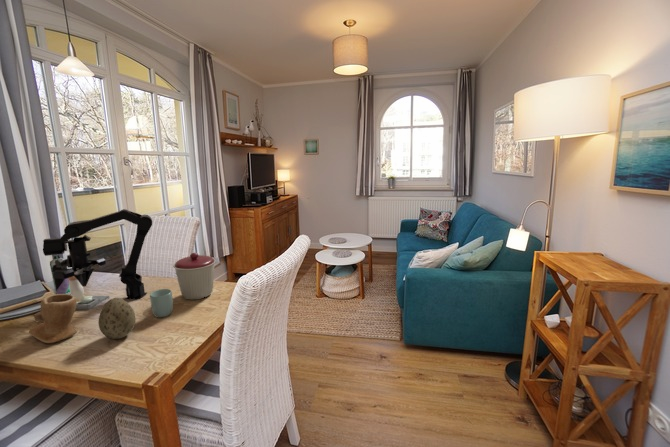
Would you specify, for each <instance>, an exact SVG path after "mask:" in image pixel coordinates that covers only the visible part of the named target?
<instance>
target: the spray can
mask: <svg viewBox="0 0 670 447" xmlns="http://www.w3.org/2000/svg"><path fill="white" fill-rule="evenodd" d="M58 259H63V260H66V259H65V258H62V257H61V256H60V254H57V255H53V258H52V260H50V261H49V266H50V267H49V268H50V271H51V276H52V283H53V286H54V288H53V289H54V292H55V293H54V294H66V293H68V292H70V286H69V280H68V278H67V279H59V278H53V273H54V271H57V270H60V269H62V268H61V267H56V265H55V260H58ZM65 269H68V266H67V267H65Z"/></svg>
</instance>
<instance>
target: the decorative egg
mask: <svg viewBox="0 0 670 447" xmlns="http://www.w3.org/2000/svg"><path fill="white" fill-rule="evenodd" d="M136 319H137V318H136V313H135V310H134V309H133V307H132V306H131V304H130V303H129V302H127V300H126V299H125V300H124V299H123V298H120V297H113V298H110V299H109V300H108V301H107V302H106V303H105V304H104V306H103V307H102V308H101V310H100V312H99V316H98V328H99V331H100V332H101V334H102V335H104V337H106V338H108V339H111V340H112V339H113V340H119V339H122V338H124V337H126V336H127V335H129V334H130V333H131V332H132V330H133V329H134V327H135V325H136Z"/></svg>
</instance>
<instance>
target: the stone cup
mask: <svg viewBox="0 0 670 447" xmlns="http://www.w3.org/2000/svg"><path fill="white" fill-rule="evenodd" d="M76 303H77V302H76V298H75V296H73V295H70V294H56V293H54V294H51V295H48V296H46V297H44V298H43V299H41V302H40V311H41V316H42V318H43V320H44V322H41V323H40V324H37V325H35V326H34V327H31V328H30V329H29V330H28V334H30V336H32V337H33V338H35V339H37V340H38V341H41V342H42V343H45V344H51V343H52V344H53V343H57V342H60V341H63V340H66V339H67V338H70V337H72V336H74V335H75V334H76V333H77V329H76V328H75V326H73V325H72V320H73V317H74V314H75V311H76V310H75V309H76Z"/></svg>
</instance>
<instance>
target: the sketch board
mask: <svg viewBox="0 0 670 447" xmlns="http://www.w3.org/2000/svg"><path fill="white" fill-rule="evenodd" d="M84 296H85V297H88V296H89V295H84ZM90 296H91V297H92V300H93V301H92V302H90V303H86V304H81V301H76V302H77V303H76V309H75V311H76V310H77V311H83V310H84V311H88V310H89V311H90V310H91V309H93V308H95V307H96V306H98V305H99V304H102V302H105V301H106V300H108V299H109V298H110V296H109V295H90Z"/></svg>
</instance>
